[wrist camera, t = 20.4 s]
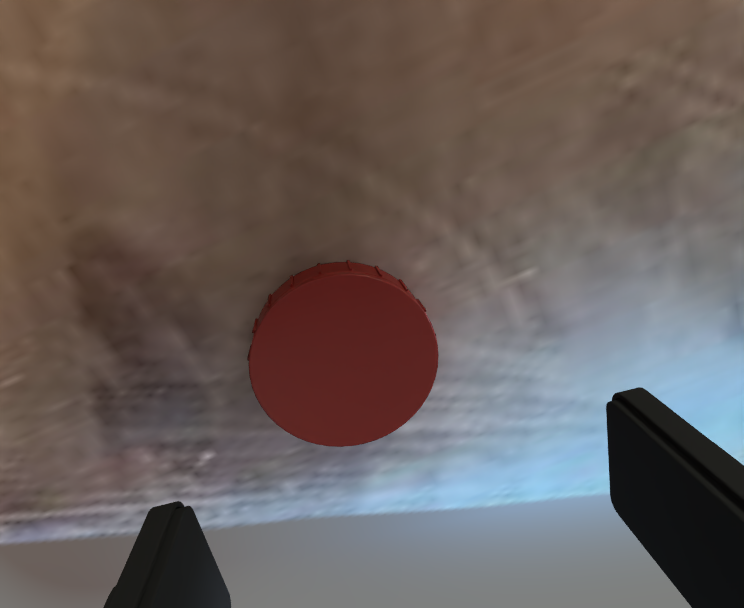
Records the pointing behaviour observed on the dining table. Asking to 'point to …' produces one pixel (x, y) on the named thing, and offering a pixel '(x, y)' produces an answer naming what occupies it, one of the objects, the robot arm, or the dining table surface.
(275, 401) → the lid
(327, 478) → the dining table surface
